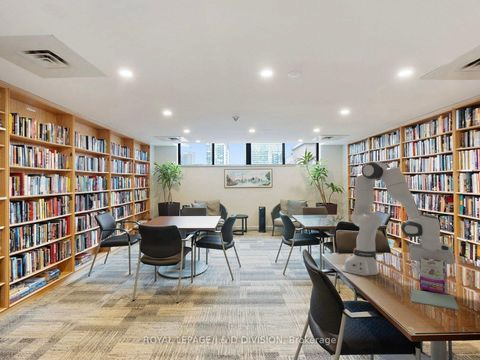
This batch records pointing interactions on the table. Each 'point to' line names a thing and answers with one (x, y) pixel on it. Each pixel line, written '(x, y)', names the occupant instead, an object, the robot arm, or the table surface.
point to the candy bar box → (433, 275)
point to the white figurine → (416, 268)
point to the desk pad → (434, 299)
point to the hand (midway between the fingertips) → (431, 270)
